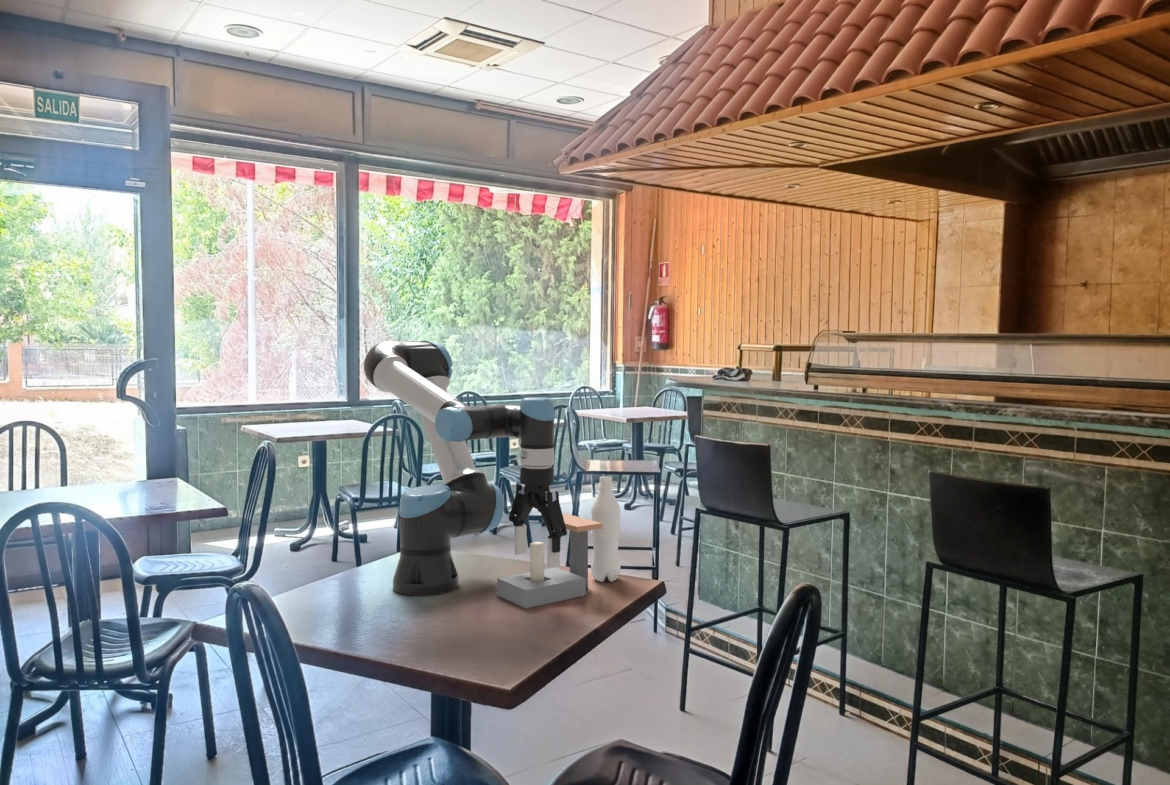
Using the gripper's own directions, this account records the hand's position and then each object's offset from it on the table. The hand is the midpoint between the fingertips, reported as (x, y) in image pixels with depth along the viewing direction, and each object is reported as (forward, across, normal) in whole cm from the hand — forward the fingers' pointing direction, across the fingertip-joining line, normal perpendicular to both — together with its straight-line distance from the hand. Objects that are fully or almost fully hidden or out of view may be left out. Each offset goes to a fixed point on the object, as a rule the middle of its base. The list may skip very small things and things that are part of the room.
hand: (536, 560), depth 183 cm
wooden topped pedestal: (+8, 0, +10) cm, 13 cm away
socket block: (+8, 0, +1) cm, 8 cm away
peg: (+8, 0, 0) cm, 8 cm away
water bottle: (+8, -2, +21) cm, 23 cm away
